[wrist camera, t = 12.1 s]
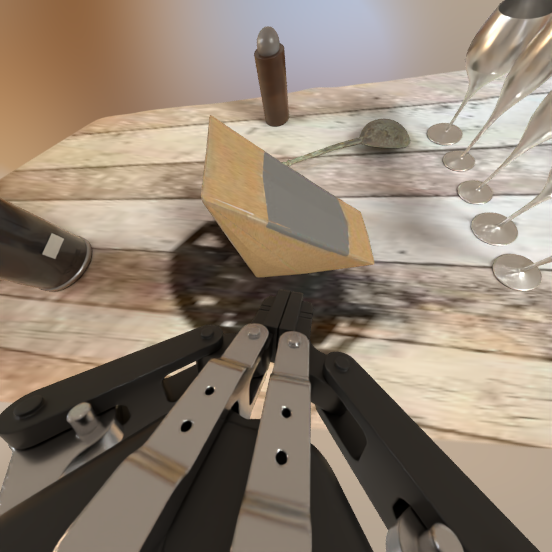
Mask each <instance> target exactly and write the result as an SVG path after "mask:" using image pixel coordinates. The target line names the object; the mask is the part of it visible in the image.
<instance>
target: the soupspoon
mask: <svg viewBox="0 0 552 552" xmlns="http://www.w3.org/2000/svg"><path fill="white" fill-rule="evenodd" d="M409 143H410V137H409V135H408V133H407V131H406V129H405V128H404V127H403V126H402V125H401V124H399V123H398V122H396V121H394V120H390V119H378V120H374V121H372V122H370V123H368V124H367V125H366V126H365V127H364V128H363V130H362V131H361V134H360V137H359V138H356V139H352V140H348V141H345V142H342V143H338V144H335V145H332V146H329V147H326V148H324V149H321V150H318V151H315V152H312V153H309V154H307V155H304V156H301V157H298V158H295V159H293V160H288V161H287V162H282V163H283V164H285V165H286V166H287V165H289V166H291V164H294V163H297V162H300V161H303V160H306V159H309V158H312V157H315V156H318V155H321V154H324V153H327V152H330V151H333V150H337V149H340V148H344V147H348V146H352V145H357V144H364V145H367V146H373V147H381V148H402V147H406V146H408V145H409Z"/></svg>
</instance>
